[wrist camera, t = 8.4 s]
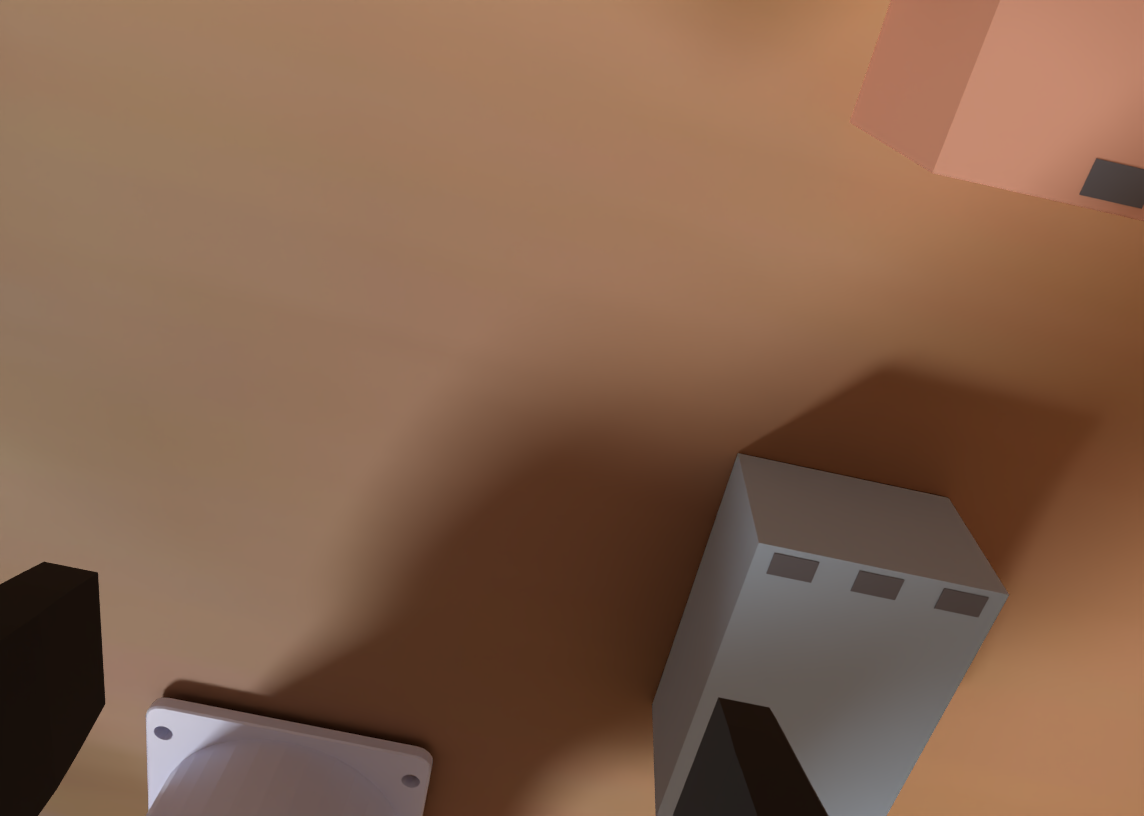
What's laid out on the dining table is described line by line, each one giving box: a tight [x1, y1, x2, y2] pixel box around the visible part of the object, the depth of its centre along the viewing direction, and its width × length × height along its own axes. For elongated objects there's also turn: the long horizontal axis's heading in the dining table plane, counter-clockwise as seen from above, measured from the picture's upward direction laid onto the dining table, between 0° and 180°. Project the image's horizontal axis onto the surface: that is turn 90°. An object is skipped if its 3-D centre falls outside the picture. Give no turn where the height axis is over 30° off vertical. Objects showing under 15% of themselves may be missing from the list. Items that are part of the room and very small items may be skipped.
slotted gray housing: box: [652, 453, 1009, 816], centre depth 20 cm, size 8×5×4 cm, turn 168°
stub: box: [850, 0, 1144, 221], centre depth 13 cm, size 4×5×5 cm
